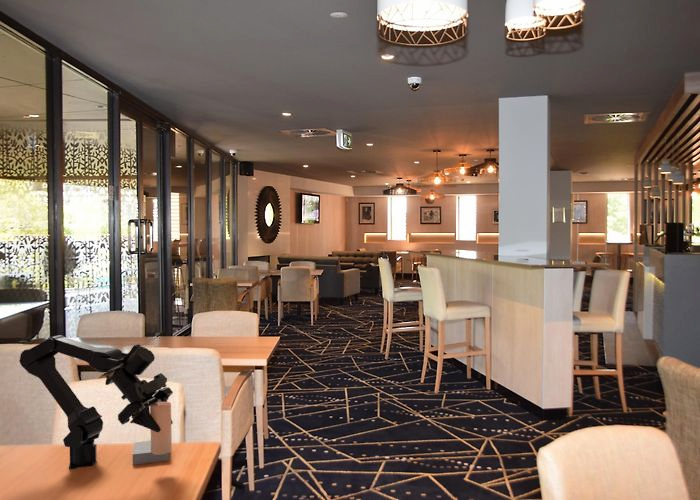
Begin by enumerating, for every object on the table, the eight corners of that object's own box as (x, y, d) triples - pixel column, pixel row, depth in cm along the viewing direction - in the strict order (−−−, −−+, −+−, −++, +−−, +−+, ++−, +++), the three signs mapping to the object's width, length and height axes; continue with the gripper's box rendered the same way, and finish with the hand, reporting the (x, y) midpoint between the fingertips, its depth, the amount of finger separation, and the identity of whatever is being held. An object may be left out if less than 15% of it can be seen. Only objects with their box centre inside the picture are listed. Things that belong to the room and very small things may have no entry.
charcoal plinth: (132, 464, 168) (132, 454, 168) (134, 452, 178) (134, 442, 178) (169, 460, 171) (168, 450, 171) (168, 448, 181) (168, 438, 181)
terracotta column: (150, 455, 160) (149, 408, 159) (151, 448, 165) (150, 402, 164) (171, 453, 161) (171, 406, 161) (171, 446, 166) (170, 400, 166)
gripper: (126, 374, 154) (164, 419, 152) (166, 359, 172) (200, 399, 170) (101, 402, 157) (138, 446, 154) (143, 384, 175) (177, 424, 172)
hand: (165, 427), depth 162 cm, fingers closed on terracotta column, 5 cm apart
